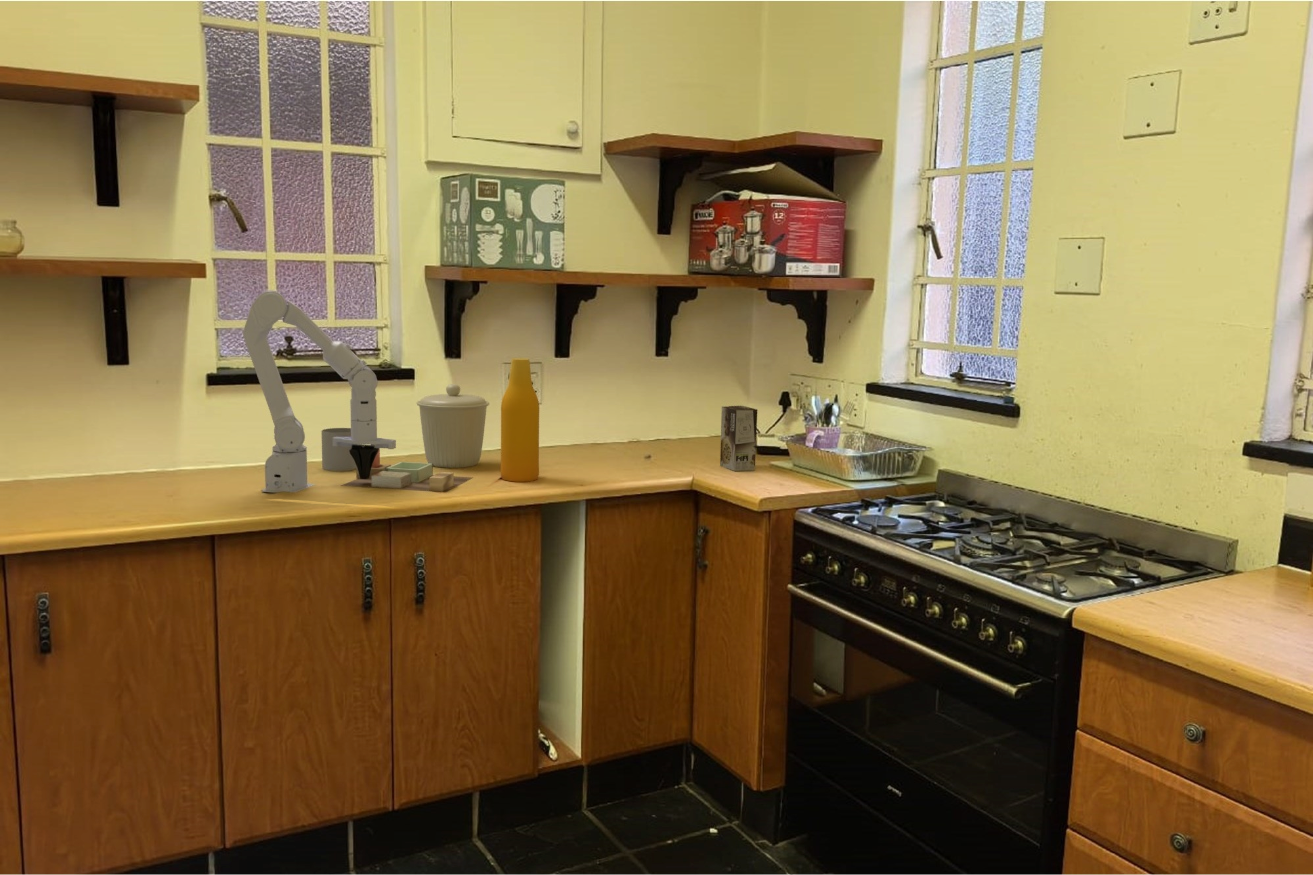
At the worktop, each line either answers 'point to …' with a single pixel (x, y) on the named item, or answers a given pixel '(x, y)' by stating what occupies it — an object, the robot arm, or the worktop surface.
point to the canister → (453, 428)
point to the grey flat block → (391, 479)
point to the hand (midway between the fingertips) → (364, 478)
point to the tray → (413, 470)
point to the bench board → (433, 483)
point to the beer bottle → (520, 426)
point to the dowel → (376, 460)
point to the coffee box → (738, 438)
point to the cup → (336, 451)
